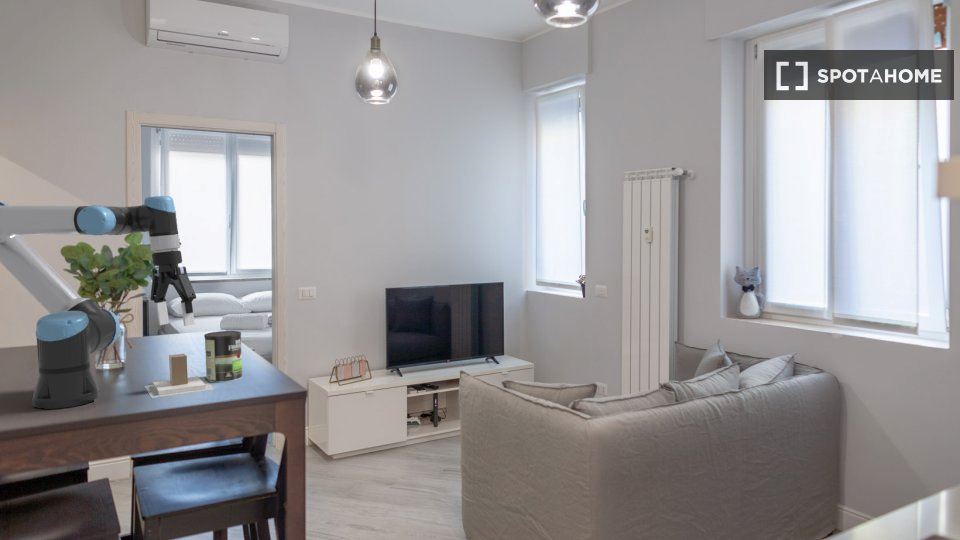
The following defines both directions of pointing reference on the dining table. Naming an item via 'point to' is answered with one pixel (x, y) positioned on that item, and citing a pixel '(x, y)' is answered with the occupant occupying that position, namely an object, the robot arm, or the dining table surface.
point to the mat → (154, 394)
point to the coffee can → (223, 356)
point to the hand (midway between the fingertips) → (176, 324)
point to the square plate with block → (178, 378)
